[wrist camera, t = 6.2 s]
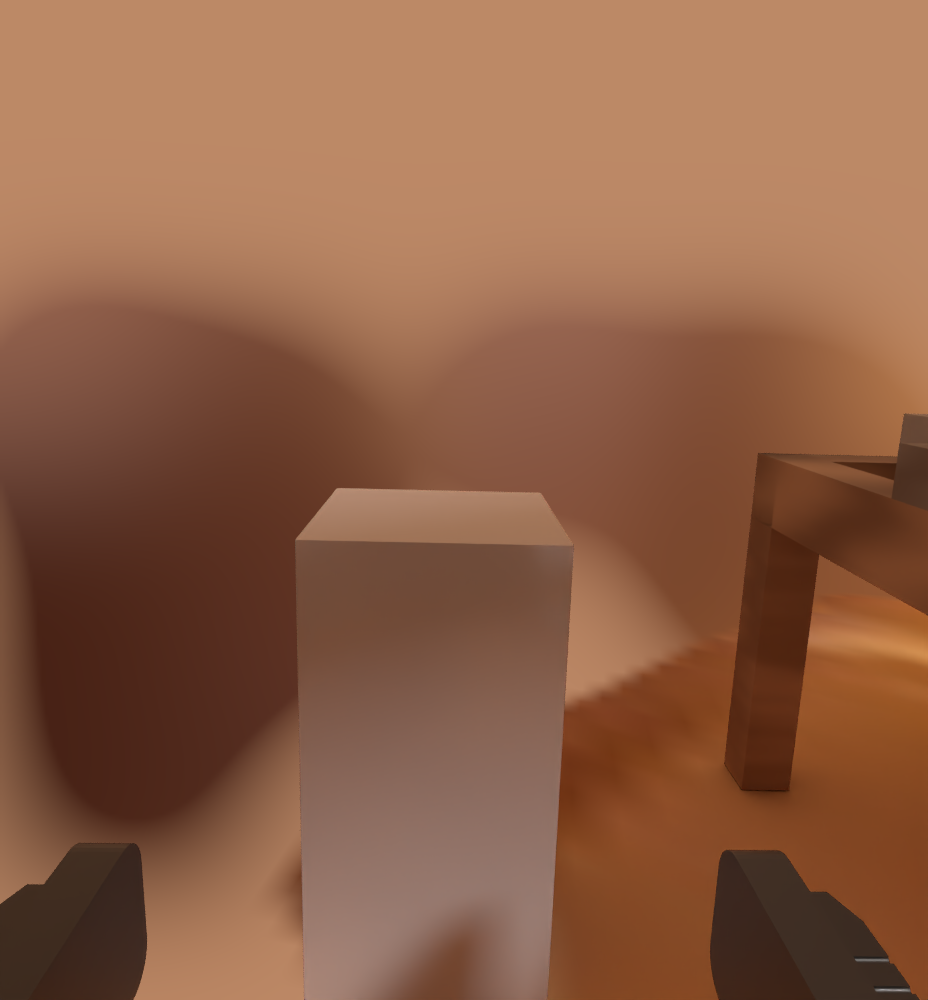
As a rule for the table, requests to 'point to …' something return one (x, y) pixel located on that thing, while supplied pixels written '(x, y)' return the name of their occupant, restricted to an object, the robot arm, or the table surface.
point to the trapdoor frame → (792, 575)
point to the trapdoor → (914, 428)
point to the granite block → (430, 742)
